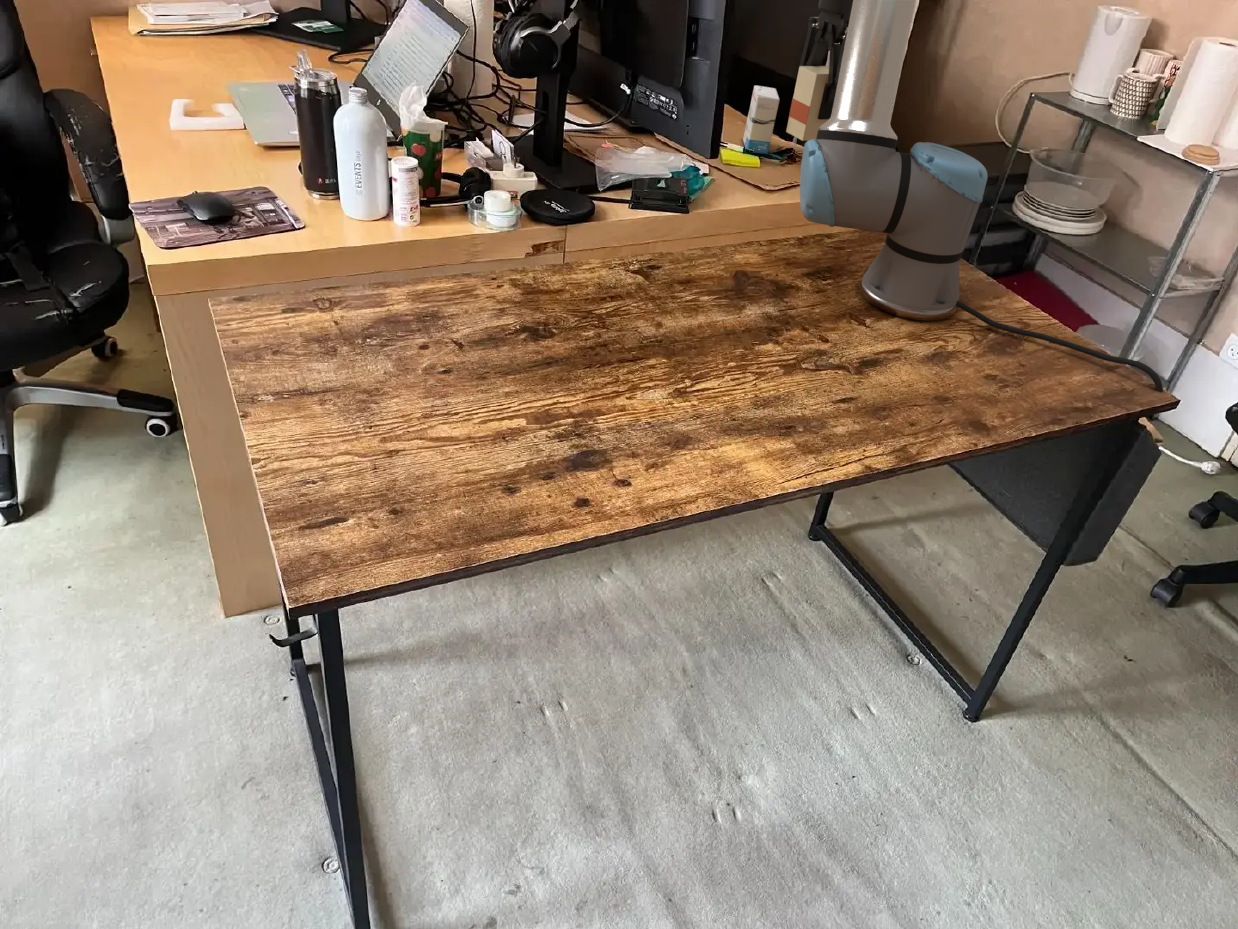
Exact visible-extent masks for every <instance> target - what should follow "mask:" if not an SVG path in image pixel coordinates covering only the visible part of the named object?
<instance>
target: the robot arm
mask: <svg viewBox="0 0 1238 929" xmlns="http://www.w3.org/2000/svg"><path fill="white" fill-rule="evenodd" d="M916 3H917V0H819V1H818V10H820V11H821V12H820V13H819V16H809V18H808V23H807V25H808V26H807V27H808V28H807V33H806V37H805V41H804V45H803V48H802V53H801V57H800V60H799V66H798V68H799V67H800V66H821V63H822V61H823V59H824V56H825V54H826V52H827V49H828V50H829V59H828V60H829V63H828V66H829V82H828V83H825V88H824V92H823V97H822V101H821V105H820V110H819V114H818V119H820V120H822V119H829V120H828V121H827V122H825V123H824V124H823V125H822V126H820V127H819V128H818V133H817V138H816V140H815V139H812V140H809V141H805V143H804V146H803V150H802V158H801V162H800V163H801V164H800V175H799V205H800V210H801V214H802V216H803V217H804V219H805V220H806V221H808V222H810V223H814V224H819V225H826V226H828V227H830V228H834V227H838V228H843V229H844V228H845V229H852V230H859V231H868V232H874V233H883V234H886V238H885V241H884V244H883V246H882V247H881V249H880V251H879V252H878V253H877V255H876V256H875V258H874V259H873V261H872V263H871V264H870V265H869V267H867V268H866V269H865V270H864V273H863V274H864V275H863V276H862V279H861V282H860V285H859V293H860V295H861V296H862V297H863V298H864V299H865V301H866V302H868V303H869V304H871V305H872V306H874V307H875V308H878V309H879V310H881V311H883V312H887V314H891V315H894V316H897V317H901V318H904V319H905V318H906V319H911V320H915V321H939V320H945V319H947V318H950V317H952V316H953V315H954V314H956V310H957V308H959V309H960V310H963V311H965V313H966V312H967V313H968V314H970V315H972V316H973V317H975V318H977V319H978V320H980V321H981V322H983V323H985V324H986V325H988V326H990V327H992V328H995V329H997V330H1001V331H1004V332H1006V333H1011V334H1016V335H1020V336H1025V337H1029V338H1033V339H1038V340H1041V341H1045V342H1048V343H1052V344H1056V345H1059V346H1061V347H1064V348H1067V349H1071V350H1074V351H1078V352H1080V353H1082V354H1086V355H1088V356H1091V357H1094V358H1097V359H1100V360H1103V361H1107V362H1111V363H1116V364H1121V365H1126V366H1130V367H1134V368H1137V369H1139V370H1141V371H1142V372H1144V373H1146V374H1147V376H1149V378H1150V379H1151V380H1152V382H1153V383H1154V388H1155V391H1156V392H1159V393H1163V392H1164V387H1163V382H1162V380H1161V378H1160V376H1159V375H1158V374H1157V372H1155V370H1153V369H1152V368H1151V367H1150V366H1148V365H1147V364H1145V363H1143V362H1140V361H1138V360H1134V359H1130V358H1126V357H1125V358H1124V357H1120V356H1115V355H1111V354H1107V353H1103V352H1101V351H1098V350H1095V349H1091V348H1089V347H1086V346H1084V345H1080V344H1077V343H1075V342H1072V341H1068V340H1065V339H1061V338H1058V337H1056V336H1052V335H1047V334H1045V333H1041V332H1036V331H1032V330H1028V329H1023V328H1022V329H1021V328H1019V327H1014V326H1011V325H1007V324H1003V323H1000V322H998V321H995V320H993V319H991V318H989V317H988V316H986V315H984V314H983V313H981V312H980V311H978V310H976V309H974V308H973V307H971V306H970V305H967V304H965V303H964V302H962V301H960V263H961V259H962V257H963V254H964V251H965V248H966V245H967V242H968V239H969V236H970V234H971V231H972V227H973V225H974V222H975V219H976V216H977V213H978V210H979V208H980V205H981V204H982V202H983V200H984V193H985V191H986V190H985V189H986V185H987V182H988V171H987V169H986V167H985V166H984V165H983V164H982V162H980V161H979V160H977V159H976V158H974V157H972V156H971V155H969V154H967V153H964V152H963V151H960V150H957V149H956V148H952V147H950V146H946V145H943V144H939V143H934V142H930V141H929V142H928V141H925V142H922V141H918V142H915V143H914V144H913V146H912V147H911V148H910V150H909V153H907V152H899V151H896V149H897V145H898V139H899V138H898V136H897V134H896V133H895V131H894V130H893V127H892V126H891V122H892V117H893V112H894V107H895V103H896V98H897V93H898V87H899V84H900V79H901V74H902V69H903V64H904V60H905V55H906V51H907V45H908V41H909V37H910V31H911V27H912V21H913V17H914V13H915V8H916ZM834 79H835V80H834Z"/></svg>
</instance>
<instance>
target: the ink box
mask: <svg viewBox="0 0 1238 929" xmlns="http://www.w3.org/2000/svg"><path fill="white" fill-rule="evenodd" d="M779 104H780V97H779V94H778V91H777V88H776V87H775V88H774V87H769V86H763V85H758V84H757V85H753V90H752V95H751V99H750V105H749V110H748V114H747V118H746V123H745V128H744V133H743V136H742V140H743V144H744V148H745V149H746V148H755V149H752V150H754V151H753V152H752V154H753V153H754V154H762V155H768V154H769V150H770V146H771V141H772V136H773V132H774V129H775V128H774V127H775V123H776V119H777V118H776V117H777V113H778V109H779ZM758 149H760V150H758ZM748 153H751V152H750V151H749V152H748Z"/></svg>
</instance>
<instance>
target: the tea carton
mask: <svg viewBox="0 0 1238 929" xmlns="http://www.w3.org/2000/svg"><path fill="white" fill-rule="evenodd" d="M796 76H797V77H796V82H795V86H794V93H793V96H792V100H791V103H790V109H789V115H788V121H787V126H786V130H785V132H786V133H787V134H789V135H791V136H793V137H795V138H796V139H798V140H800V141H802V142H807V141H809V140H812V139H815V140H816V138H817V133H818V128H819V127H820V126H822V125H823V124H824V123H825V122H827V121H828V120H829V119H822V120H820V119H818V114H819V110H820V105H821V101H822V97H823V92H824V88H825V83H828V82H829V65H820V66H800V67H799V66H798V71H797V75H796ZM834 80H835V79H834Z"/></svg>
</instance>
